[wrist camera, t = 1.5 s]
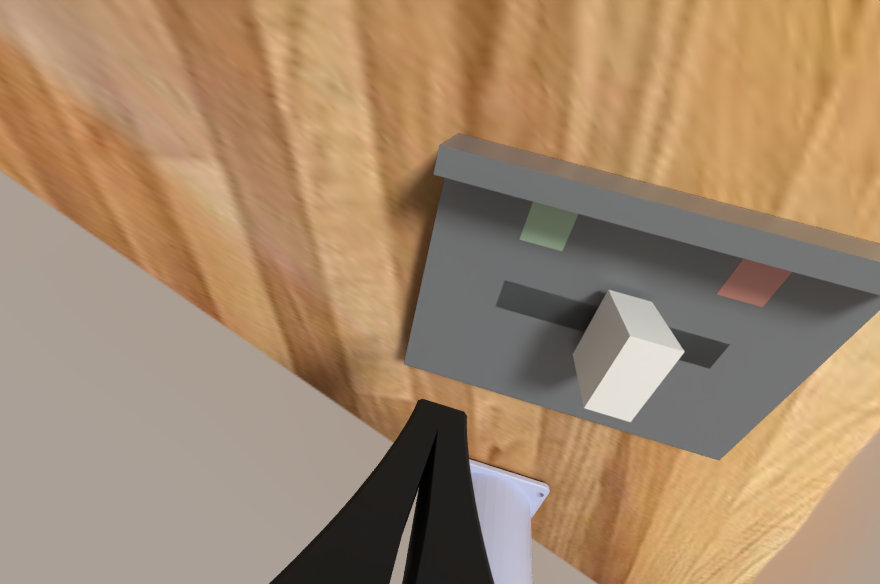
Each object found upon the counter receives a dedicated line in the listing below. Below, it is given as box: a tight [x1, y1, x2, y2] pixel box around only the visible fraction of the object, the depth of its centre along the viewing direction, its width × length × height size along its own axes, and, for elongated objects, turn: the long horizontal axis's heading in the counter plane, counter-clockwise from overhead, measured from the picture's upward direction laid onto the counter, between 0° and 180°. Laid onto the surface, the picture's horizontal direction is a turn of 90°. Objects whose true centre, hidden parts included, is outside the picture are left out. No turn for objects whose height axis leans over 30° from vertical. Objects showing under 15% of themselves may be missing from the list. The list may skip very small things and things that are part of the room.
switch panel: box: [404, 133, 880, 460], centre depth 17 cm, size 13×19×4 cm
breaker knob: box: [573, 290, 684, 422], centre depth 15 cm, size 4×2×4 cm, turn 168°
